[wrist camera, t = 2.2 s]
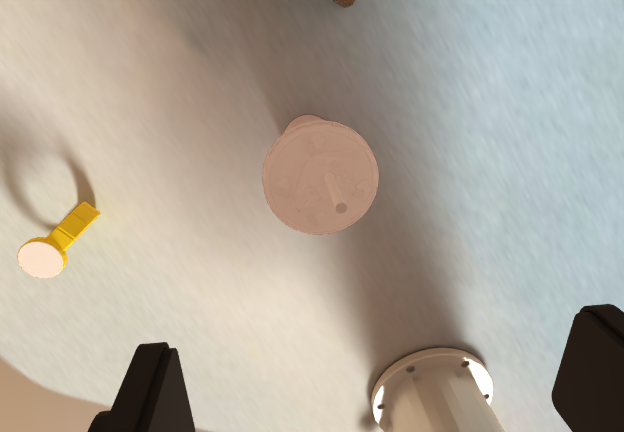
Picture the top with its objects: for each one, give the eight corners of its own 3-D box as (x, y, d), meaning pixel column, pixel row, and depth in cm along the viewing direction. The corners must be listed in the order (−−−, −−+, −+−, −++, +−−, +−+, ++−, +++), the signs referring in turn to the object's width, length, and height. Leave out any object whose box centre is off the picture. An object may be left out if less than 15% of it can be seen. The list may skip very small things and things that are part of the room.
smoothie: (367, 139, 31) (431, 214, 18) (307, 195, 33) (329, 301, 20) (308, 76, 29) (335, 112, 16) (247, 140, 30) (228, 219, 18)
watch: (86, 185, 31) (50, 214, 26) (117, 209, 32) (89, 241, 27) (37, 238, 32) (-6, 276, 27) (69, 259, 33) (33, 300, 28)
